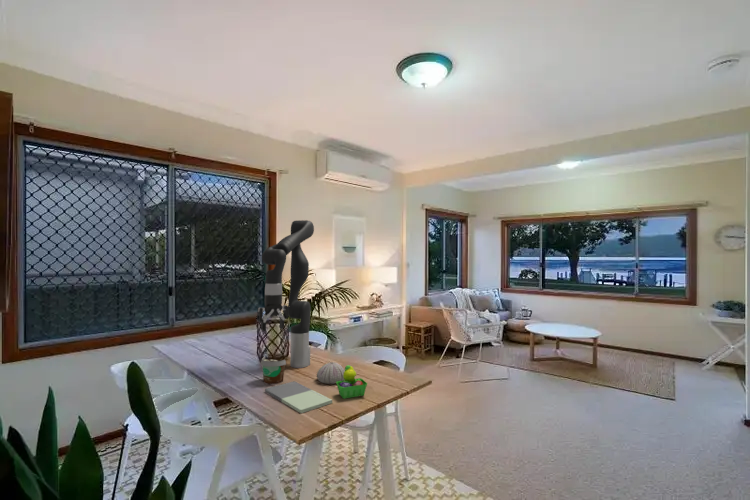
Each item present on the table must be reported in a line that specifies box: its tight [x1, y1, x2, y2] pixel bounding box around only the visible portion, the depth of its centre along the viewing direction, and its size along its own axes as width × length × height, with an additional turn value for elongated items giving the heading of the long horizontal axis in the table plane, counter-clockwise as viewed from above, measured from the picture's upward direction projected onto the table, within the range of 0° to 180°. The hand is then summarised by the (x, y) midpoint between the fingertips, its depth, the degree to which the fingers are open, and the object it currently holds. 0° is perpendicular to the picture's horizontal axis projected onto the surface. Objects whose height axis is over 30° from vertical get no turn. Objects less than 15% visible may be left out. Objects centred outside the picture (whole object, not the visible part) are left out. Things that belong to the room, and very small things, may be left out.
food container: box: [260, 356, 287, 385], centre depth 163 cm, size 12×6×10 cm, turn 68°
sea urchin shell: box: [316, 361, 345, 384], centre depth 166 cm, size 13×14×8 cm
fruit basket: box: [335, 364, 368, 399], centre depth 150 cm, size 11×9×11 cm
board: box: [264, 380, 333, 414], centre depth 146 cm, size 14×28×1 cm, turn 43°
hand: (272, 329), depth 163 cm, fingers open, 8 cm apart
